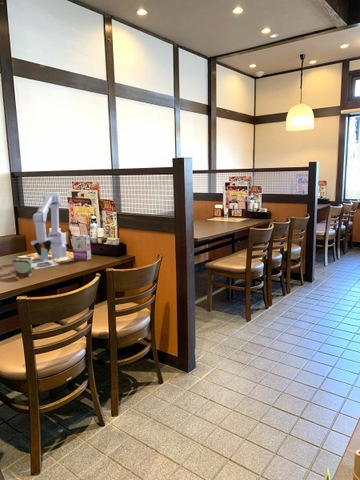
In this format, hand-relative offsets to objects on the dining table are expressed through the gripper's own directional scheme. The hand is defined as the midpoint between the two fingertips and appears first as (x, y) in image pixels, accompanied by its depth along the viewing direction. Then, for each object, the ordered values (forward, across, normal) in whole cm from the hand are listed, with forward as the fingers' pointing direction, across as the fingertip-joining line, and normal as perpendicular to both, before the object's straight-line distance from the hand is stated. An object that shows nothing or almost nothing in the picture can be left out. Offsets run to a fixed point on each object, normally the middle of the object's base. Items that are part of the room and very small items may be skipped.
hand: (43, 254), depth 218 cm
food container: (+8, +18, +8) cm, 21 cm away
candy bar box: (+8, -23, +9) cm, 26 cm away
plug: (+3, 0, 0) cm, 3 cm away
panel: (+8, -2, -7) cm, 10 cm away
